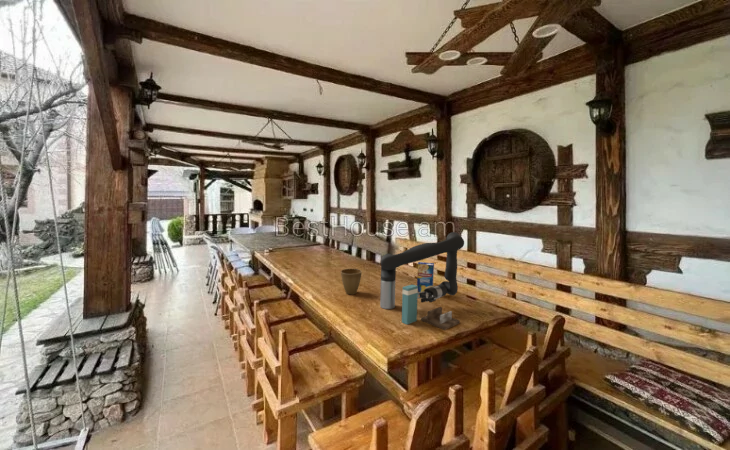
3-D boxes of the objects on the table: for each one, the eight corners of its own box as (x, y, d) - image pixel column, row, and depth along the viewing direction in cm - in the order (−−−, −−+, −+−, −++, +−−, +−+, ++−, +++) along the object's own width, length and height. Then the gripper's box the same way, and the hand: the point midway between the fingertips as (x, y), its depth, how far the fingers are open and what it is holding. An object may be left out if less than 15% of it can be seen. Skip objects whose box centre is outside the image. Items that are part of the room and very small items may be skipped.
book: (411, 318, 179) (412, 284, 177) (416, 320, 176) (417, 286, 174) (401, 322, 174) (402, 287, 172) (407, 324, 171) (408, 288, 169)
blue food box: (432, 296, 220) (433, 265, 218) (416, 294, 223) (417, 264, 221) (433, 293, 226) (434, 263, 224) (417, 291, 229) (418, 262, 227)
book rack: (435, 314, 186) (436, 304, 185) (459, 323, 174) (460, 312, 173) (420, 320, 177) (421, 310, 176) (444, 330, 165) (445, 318, 164)
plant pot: (338, 291, 228) (338, 269, 227) (357, 289, 233) (357, 267, 232) (344, 297, 214) (344, 274, 213) (364, 295, 220) (364, 272, 218)
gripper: (423, 284, 193) (406, 289, 182) (443, 289, 182) (425, 295, 171) (423, 296, 193) (405, 301, 183) (442, 302, 183) (425, 308, 172)
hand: (415, 298), depth 177 cm, fingers open, 8 cm apart
